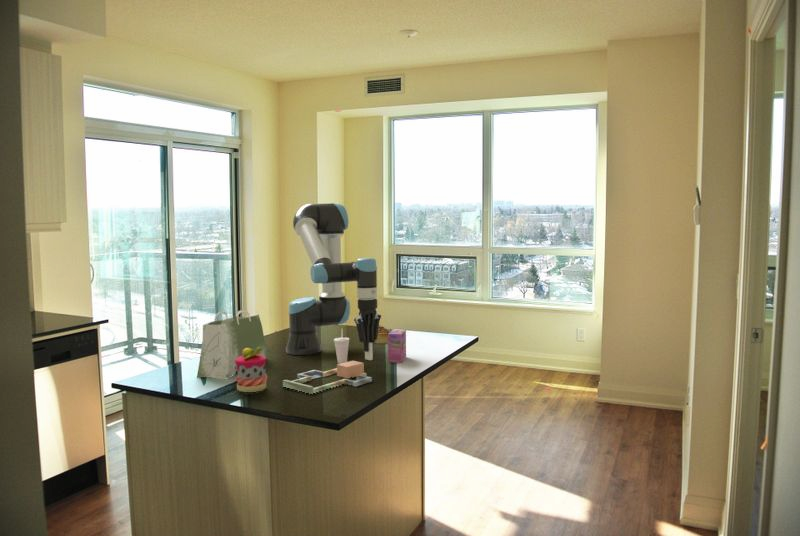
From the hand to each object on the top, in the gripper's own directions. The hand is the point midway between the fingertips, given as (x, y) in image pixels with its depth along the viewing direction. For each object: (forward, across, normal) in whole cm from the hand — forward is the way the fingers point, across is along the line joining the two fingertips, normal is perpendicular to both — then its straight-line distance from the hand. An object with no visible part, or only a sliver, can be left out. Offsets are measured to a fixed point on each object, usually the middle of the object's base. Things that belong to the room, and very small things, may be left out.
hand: (368, 359), depth 236 cm
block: (+4, -10, 0) cm, 11 cm away
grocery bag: (+4, -30, +46) cm, 54 cm away
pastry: (+4, +44, +34) cm, 56 cm away
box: (+4, +19, +2) cm, 20 cm away
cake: (+4, -44, +15) cm, 46 cm away
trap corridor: (+4, -22, 0) cm, 22 cm away
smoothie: (+4, +2, +17) cm, 18 cm away
